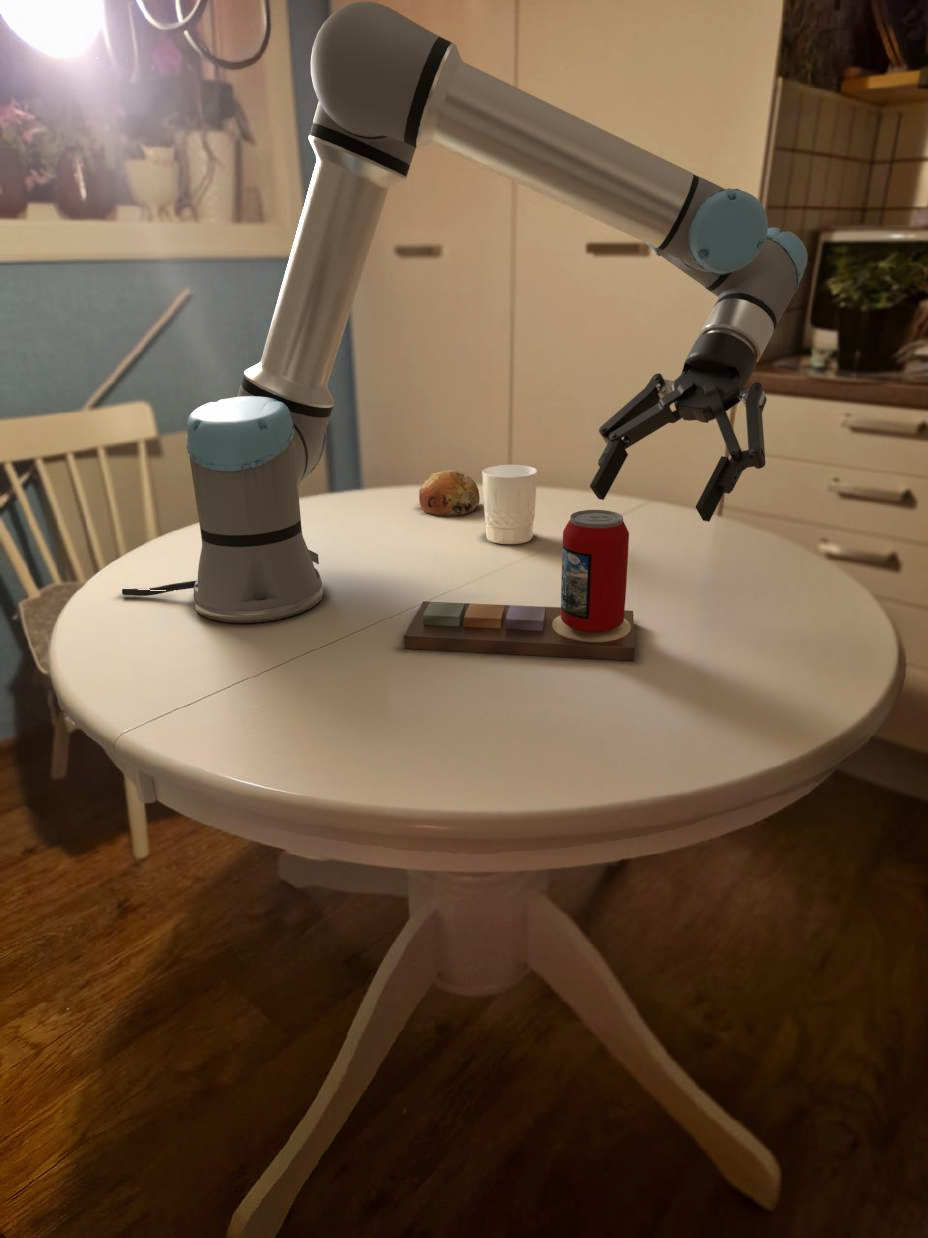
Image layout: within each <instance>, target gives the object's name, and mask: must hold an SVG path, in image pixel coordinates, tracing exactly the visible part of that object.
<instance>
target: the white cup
mask: <svg viewBox="0 0 928 1238" xmlns="http://www.w3.org/2000/svg"><path fill="white" fill-rule="evenodd" d="M481 476H482V477H481V479H482V497H483V498H482V499H483V509H484V521H485V532H486V533H485V534H486V538H487V540H488V541H489V542H492V543H495V544H499V545H519V544H524V543H527V542H530V541H531V540H532V539H533V537H534V521H535V515H536V514H535V513H536V511H535V509H536V503H537V486H538V485H537V484H538V469H537V468H535V467H533V466H528V465H522V464H499V465H491V466H488V467H485V468H484V469H482V470H481Z"/></svg>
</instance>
